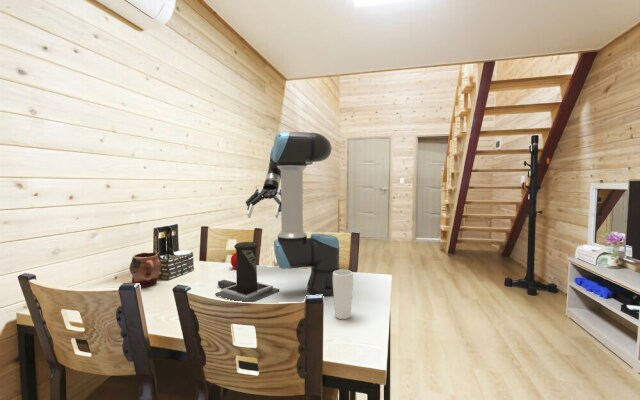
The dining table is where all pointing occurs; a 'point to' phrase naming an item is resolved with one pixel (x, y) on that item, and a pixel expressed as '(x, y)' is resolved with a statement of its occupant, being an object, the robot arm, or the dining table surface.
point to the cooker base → (232, 294)
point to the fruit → (233, 260)
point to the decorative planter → (145, 269)
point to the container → (246, 267)
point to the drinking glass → (342, 293)
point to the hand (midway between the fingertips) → (262, 216)
